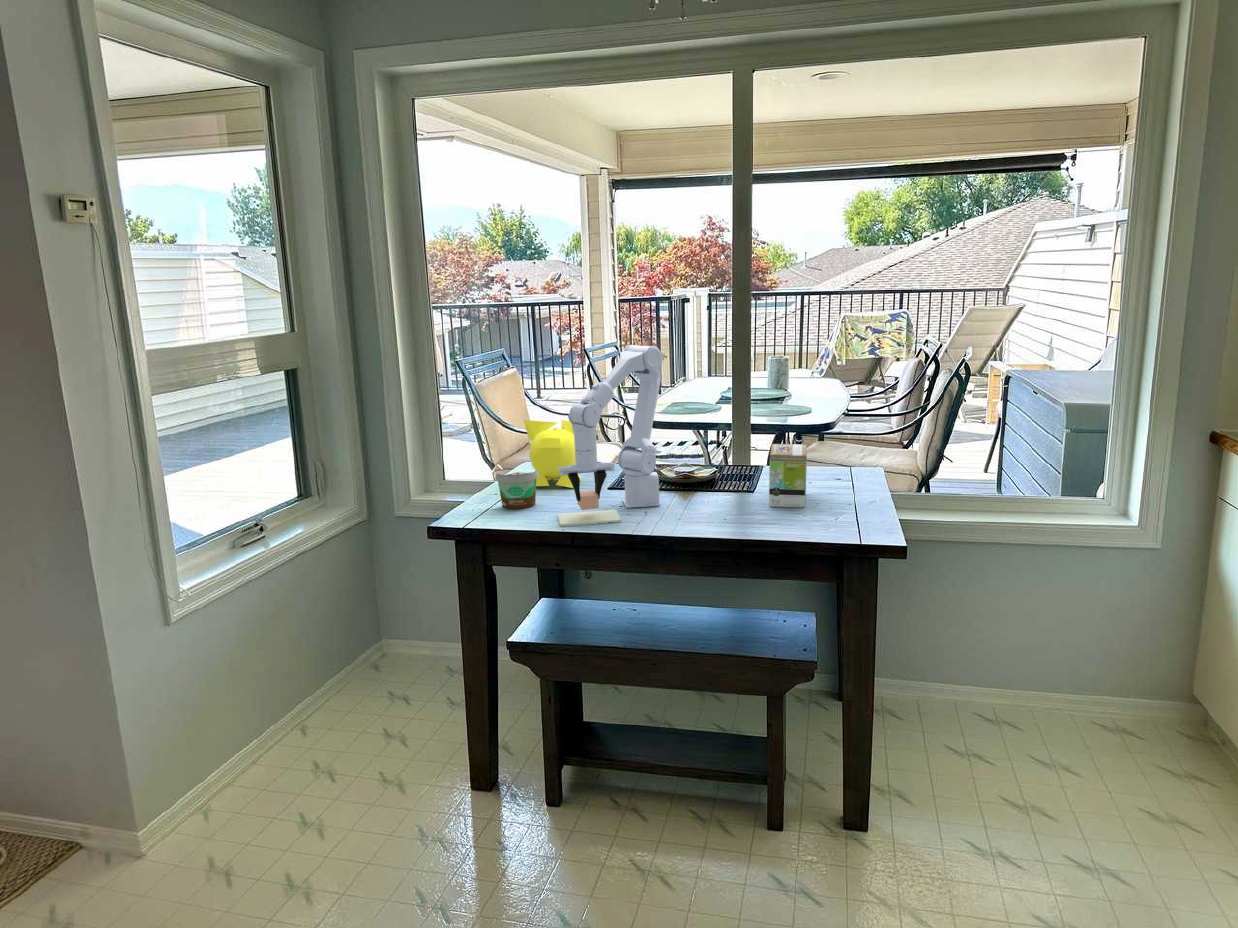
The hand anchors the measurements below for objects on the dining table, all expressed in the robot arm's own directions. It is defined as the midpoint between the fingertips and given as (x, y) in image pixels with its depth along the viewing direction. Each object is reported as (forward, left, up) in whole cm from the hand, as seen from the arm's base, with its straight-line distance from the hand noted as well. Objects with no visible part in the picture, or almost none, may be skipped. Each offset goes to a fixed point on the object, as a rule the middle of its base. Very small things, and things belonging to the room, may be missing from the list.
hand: (588, 499), depth 232 cm
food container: (+18, -16, -6) cm, 25 cm away
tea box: (-56, -4, -6) cm, 56 cm away
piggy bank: (+6, -42, -6) cm, 43 cm away
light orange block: (0, 0, -2) cm, 2 cm away
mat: (0, 0, -5) cm, 5 cm away
